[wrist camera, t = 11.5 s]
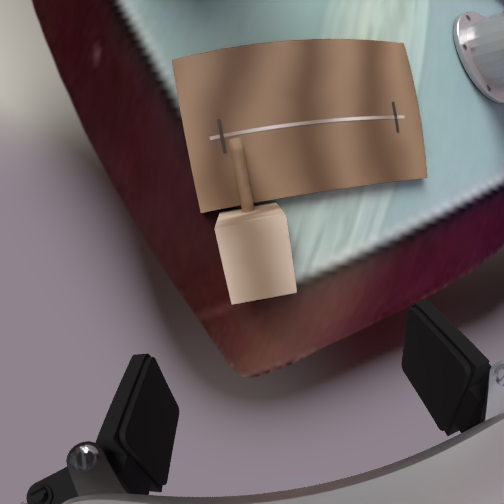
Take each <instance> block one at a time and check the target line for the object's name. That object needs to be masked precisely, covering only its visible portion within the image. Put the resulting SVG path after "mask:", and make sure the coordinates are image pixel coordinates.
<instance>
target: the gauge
mask: <svg viewBox="0 0 504 504" xmlns="http://www.w3.org/2000/svg"><path fill="white" fill-rule="evenodd" d="M229 145H230V150H231V155H232V161H233V166H234V171H235V176H236V182H237V187H238V192H239V197H240V203H241V208H239V209H233V210H228V211H223V212H220V213H219V216H218V219H217V222H216V225H215V233H216V237H217V242H218V246H219V251H220V255H221V260H222V264H223V269H224V273H225V277H226V282H227V286H228V290H229V294H230V299H231V303H232V304H237V303H243V302H249V301H254V300H260V299H265V298H271V297H276V296H281V295H287V294H292V293H297V289H296V282H295V274H294V267H293V259H292V252H291V245H290V239H289V232H288V225H287V218H286V215H285V213H284V212H283V211H282V209H281V208H280V207H279V206H278V204H277V203H276V202H272V203H266V204H260V205H255V206H254V205H253V199H252V194H251V188H250V183H249V177H248V172H247V166H246V161H245V156H244V150H243V145H242V140H241V137H240V138H234V139H229Z"/></svg>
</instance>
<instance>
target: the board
mask: <svg viewBox="0 0 504 504" xmlns="http://www.w3.org/2000/svg"><path fill="white" fill-rule="evenodd" d="M172 63H173V69H174V76H175V82H176V88H177V93H178V99H179V105H180V110H181V116H182V121H183V127H184V132H185V137H186V143H187V148H188V153H189V158H190V163H191V168H192V173H193V178H194V183H195V187H196V192H197V197H198V201H199V206H200V211H201V213H204V212H209V211H214V210H219V209H224V208H229V207H234V206H240V205H241V203H240V197H239V192H238V187H237V182H236V176H235V171H234V166H233V161H232V155H231V150H230V145H229V139H234V138H240V137H241V140H242V145H243V150H244V156H245V161H246V166H247V172H248V177H249V183H250V188H251V194H252V199H253V203H256V202H261V201H267V200H273V199H278V198H284V197H290V196H296V195H302V194H309V193H315V192H322V191H328V190H335V189H342V188H349V187H356V186H363V185H371V184H378V183H386V182H394V181H403V180H412V179H421V178H427V167H426V157H425V147H424V139H423V132H422V125H421V118H420V112H419V107H418V101H417V96H416V91H415V86H414V82H413V77H412V73H411V69H410V65H409V61H408V57H407V53H406V49H405V46H404V43H396V42H386V41H374V40H355V39H311V40H292V41H279V42H268V43H260V44H252V45H244V46H238V47H232V48H226V49H220V50H215V51H210V52H205V53H200V54H196V55H191V56H187V57H183V58H179V59H175V60H172Z"/></svg>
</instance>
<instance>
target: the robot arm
mask: <svg viewBox="0 0 504 504" xmlns="http://www.w3.org/2000/svg"><path fill="white" fill-rule="evenodd" d="M453 34H454V41H455V45H456V49H457V52H458V55H459V57H460V60H461V62H462V64H463V66H464V68H465V70H466V72H467V73H468V75H469V77H470V78H471V80H472V81H473V82H474V84H475V85H476V86H477V88H478V89H479V90H480V91H481V92H482V93H483V94H484V95H485V96H486V97H488V98H489V99H491V100H492V101H495V102H497V103H504V11H503V12H500V13H497V14H494V15H492V16H489V17H486V18H485V17H484V16H482V15H480V14H478V13H475V12H466V13H463V14H461V15H459V16H458V17H457V19H456V20H455V23H454V30H453ZM402 369H403V371H404V373H405V374H406V376H407V377H408V379H409V381H410V382H411V384H412V385H413V387H414V388H415V390H416V392H417V393H418V395H419V396H420V398H421V400H422V401H423V403H424V404H425V406H426V408H427V409H428V411H429V413H430V414H431V416H432V418H433V419H434V421H435V423H436V424H437V426H438V428H439V429H440V430H441V431H443V430H444V431H445V433H446V434H447V436H449V435H451V434H453V433H455V432H457V431H459V430H460V432H461V434H459V435H457V436H455V437H453V438H451V439H449V440H447V441H445V442H443V443H440V444H439V445H436V446H434V447H432V448H430V449H427V450H425V451H423V452H420V453H418V454H416V455H413V456H411V457H408V458H406V459H403V460H400V461H398V462H395V463H393V464H390V465H387V466H384V467H381V468H378V469H375V470H372V471H369V472H365V473H362V474H358V475H355V476H351V477H348V478H344V479H340V480H336V481H332V482H328V483H323V484H319V485H314V486H309V487H304V488H298V489H292V490H287V491H279V492H272V493H263V494H254V495H243V496H225V497H171V496H153V495H149V491H154V492H162V486H163V485H165V484H166V483H167V479H168V473H169V467H170V462H171V456H172V450H173V444H174V439H175V434H176V427H177V422H178V418H179V407H178V405H177V403H176V401H175V399H174V397H173V395H172V393H171V391H170V389H169V387H168V385H167V383H166V381H165V378H164V376H163V374H162V372H161V370H160V368H159V366H158V364H157V362H156V359H155V358H154V357H151V356H150V355H149V354H138V355H133V356H132V358H131V360H130V362H129V365H128V367H127V369H126V371H125V373H124V376H123V378H122V380H121V382H120V385H119V387H118V389H117V391H116V394H115V396H114V398H113V401H112V403H111V405H110V408H109V410H108V413H107V415H106V418H105V420H104V422H103V425H102V427H101V430H100V432H99V435H98V438H97V440H96V443H94V442H90V441H87V442H82V443H79V444H77V445H75V446H74V447H73V448H72V449H71V450H70V451H69V453H68V455H67V459H66V462H67V467H65V468H64V469H62V470H60V471H58V472H56V473H54V474H52V475H50V476H48V477H46V478H44V479H43V480H41V481H39V482H37V483H35V484H33V485H32V486H31V487H30V489H29V490H28V493H27V503H26V504H504V360H503V361H499V362H497V363H495V364H494V365H493V366H491V365H490V364H489V360H488V359H487V358H486V357H485V356H484V355H483V354H482V353H481V352H480V351H479V350H478V349H477V348H476V347H475V345H474V344H473V343H472V342H470V341H469V339H468V338H467V337H465V335H463V334H462V332H461V331H459V330H458V329H457V328H456V327H455V326H454V325H453V324H452V323H451V322H450V321H449V320H448V319H447V318H446V317H445V316H444V315H443V314H442V313H441V312H440V311H439V310H438V309H436V308H435V307H434V306H433V305H432V304H431V303H430V302H429V301H428V300H423V301H420V302H416V303H413V304H412V306H411V308H410V309H409V310H408V315H407V324H406V334H405V343H404V350H403V357H402ZM21 504H25V503H24V502H22V503H21Z"/></svg>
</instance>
